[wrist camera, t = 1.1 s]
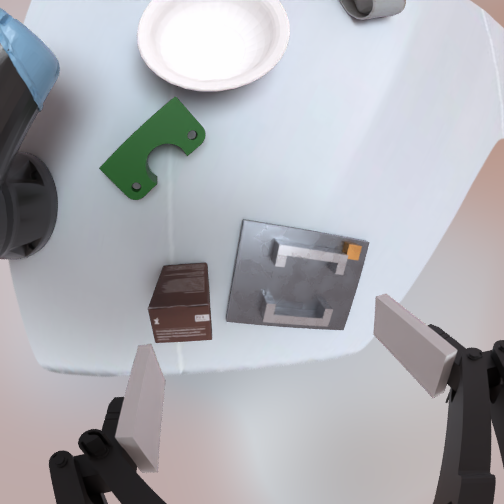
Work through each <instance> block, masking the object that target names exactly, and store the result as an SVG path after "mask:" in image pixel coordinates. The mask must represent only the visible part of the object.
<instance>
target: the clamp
mask: <svg viewBox="0 0 504 504" xmlns="http://www.w3.org/2000/svg"><path fill="white" fill-rule="evenodd" d="M191 130H194V131H195V132H196V137H195V138H194V139H189V138H188V136H187V135H188V132H189V131H191ZM204 139H205V130H204V128H203V127H202V126H201V125H200V123H199V122H198V121H197V120H196V119H195V118H194V117H193V115H192V114H191V113H190V112H189V111H188V110H187V109H186V107H185V106H184V105H183V104H182V103H181V102H180V101H179V100H178V98H177V97H176V96H175V97H174V98H173V99H171V100H170V101H169V102H168V103H167V104H166V105H164V106H163V107H162V108H161V109H160V110H159V111H157V112H156V113H155V114H154V115H153V116H152V117H151V118H150V119H148V120H147V121H146V122H145V123H144V124H143V125H142V126H141V127H140V128H139V129H138V130H137V131H135V132H134V133H133V134H132V135H131V136H130V137H129V138H128V139H127V140H126V141H125V142H124V143H123V144H122V145H121V146H120V147H119V148H118V149H117V150H116V151H115V152H114V153H113V154H112V155H111V156H110V157H109V158H108V159H107V160H106V162H105V163H104V164H103V165H102V166H101V167H100V168H99V169H100V170H101V171H102V172H103V173H104V174H105V175H106V176H107V177H108V178H109V179H110V180H111V181H112V182H113V183H114V184H115V185H116V186H117V187H118V188H119V189H120V190H121V191H122V192H123V193H124V194H125V195H126V196H127V197H128V198H130V199H133V200H139V199H141V198H143V197H144V196H145V195H146V194H147V193H148V192H149V191H150V190H151V189H152V188H153V187H154V186H155V185H156V184H157V176H156V175H155V174H153V173H152V172H151V170H150V169H149V167H148V163H147V157H148V155H149V153H150V152H151V151H152V150H153V149H154V148H155V147H157V146H159V145H162V144H174V145H177V146H179V147H180V148H181V149H183V151H184V152H185V154H186V155H187V156H188V155H189V154H190V153H192V152H193V151H194V150H195V149H196V148H197V147H198V146H200V145H201V144H202V143H203V141H204ZM135 182H137V183H139V184H140V185H141V188H140V189H134V188H133V186H132V184H133V183H135Z"/></svg>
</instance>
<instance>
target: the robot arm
mask: <svg viewBox="0 0 504 504" xmlns="http://www.w3.org/2000/svg"><path fill="white" fill-rule="evenodd" d="M59 71H60V67H59V62H58V60H57V58H56V57H55V55H54V54H53V52H52V51H51V50H50V49H49V48H48V47H47V46H46V45H45V44H44V43H43V42H42V41H41V40H40V39H39V38H38V37H37V36H36V35H35V34H34V33H33V32H32V31H30V30H29V29H28V28H27V27H26V26H25V25H23V24H22V23H21V22H19V21H18V20H17V19H14V18H12V16H11V15H9V14H8V13H7V12H6V11H4V10H3V9H1V8H0V259H22V258H26V257H28V256H30V255H32V254H34V253H35V252H37V251H39V250H40V249H41V248H42V247H43V246H44V245H45V244H46V242H47V241H48V239H49V238H50V236H51V234H52V231H53V229H54V226H55V222H56V217H57V193H56V188H55V184H54V181H53V178H52V176H51V174H50V172H49V170H48V168H47V167H46V166H45V164H44V163H43V162H42V161H41V160H40V159H39V158H37V157H36V156H34V155H32V154H29V153H21V152H17V151H18V149H19V147H20V145H21V143H22V141H23V139H24V137H25V135H26V133H27V131H28V130H29V128H30V126H31V124H32V122H33V120H34V119H35V117H36V115H37V113H38V112H39V111H41V110H42V108H43V102H44V101H45V99H46V97H47V95H48V94H49V92H50V90H51V88H52V87H53V85H54V83H55V82H56V80H57V78H58V76H59ZM373 335H374V336H375V337H376V338H377V339H378V340H379V341H380V342H381V343H382V344H383V345H384V346H385V347H386V348H387V349H388V350H389V351H390V352H391V354H393V356H394V357H395V358H396V359H397V360H398V361H399V362H400V363H401V364H402V365H403V366H404V367H405V368H406V370H407V371H408V372H409V373H410V374H411V375H412V376H413V377H414V378H415V379H416V380H417V381H418V383H419V384H420V385H421V386H422V387H423V388H424V389H425V390H426V391H427V392H428V393H429V394H430V396H431V397H432V398H435V397H436V396H438V395H440V394H442V393H444V391H445V388H446V385H447V384H448V385H449V386H450V387H451V389H450V392H449V394H448V397H447V399H446V403H447V402H448V400H449V408H448V420H447V431H446V440H445V447H444V453H443V460H442V466H441V471H440V476H439V481H438V486H437V491H436V495H435V499H434V502H433V504H493V501H494V492H495V475H492V474H491V473H490V463H491V420H492V423H493V426H494V430H495V434H496V437H497V441H498V445H499V449H500V453H501V457H502V462H503V467H504V340H500V341H497V342H495V344H494V346H493V350H490V351H486V352H482V351H481V350H479V349H477V348H467V349H466V348H464V347H463V346H462V345H461V344H459V343H458V342H457V341H456V340H455V339H453V338H452V337H450V336H449V335H448V334H447V333H445V332H444V331H443V330H442V329H440V328H439V327H436V326H434V325H432V324H430V325H428V326H427V325H426V324H425V323H423V322H422V321H421V320H420V319H418V318H417V317H416V316H414V315H413V314H412V313H411V312H409V311H408V310H407V309H405V308H404V307H403V306H401V305H400V304H399V303H398V302H396V301H395V300H394V299H392V298H391V297H390V296H389V295H387V294H383V295H380V296H377V297H376V304H375V321H374V334H373ZM164 390H165V378H164V376H163V373H162V371H161V368H160V366H159V363H158V361H157V358H156V355H155V353H154V350H153V347H152V345H151V344H147V345H139V346H138V349H137V353H136V356H135V360H134V363H133V367H132V370H131V374H130V378H129V381H128V385H127V389H126V393H125V397H115V398H114V399H113V400H112V401H111V403H110V404H109V406H108V410H107V414H106V416H105V420H104V424H103V427H102V431H101V430H98V429H91V430H88V431H86V432H84V433H83V434H82V435H81V437H80V438H79V441H78V445H79V448H80V449H81V450H82V451H83V453H84V454H83V455H78V456H74V457H73V456H72V455H71V454H70V453H69V452H67V451H58V452H56V453H54V454H53V455H52V456H51V458H50V460H49V468H50V474H51V480H52V485H53V489H54V494H55V499H56V503H57V504H108V503H107V500H106V498H105V495H104V493H106V492H110V491H112V492H113V493H114V495H115V496H116V497H117V498H118V500H119V501H120V502H121V504H166V503H165V502H164V501H163V500H162V499H161V498H160V497H159V496H158V495H157V494H156V493H155V492H154V491H153V490H152V489H151V488H150V487H149V486H148V485H147V484H146V483H145V482H144V480H143V479H142V478H141V477H140V476H139V475H138V474H137V473H136V470H137V467H138V468H139V470H140V471H141V472H143V473H145V472H158V460H159V445H160V432H161V421H162V409H163V399H164Z"/></svg>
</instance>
